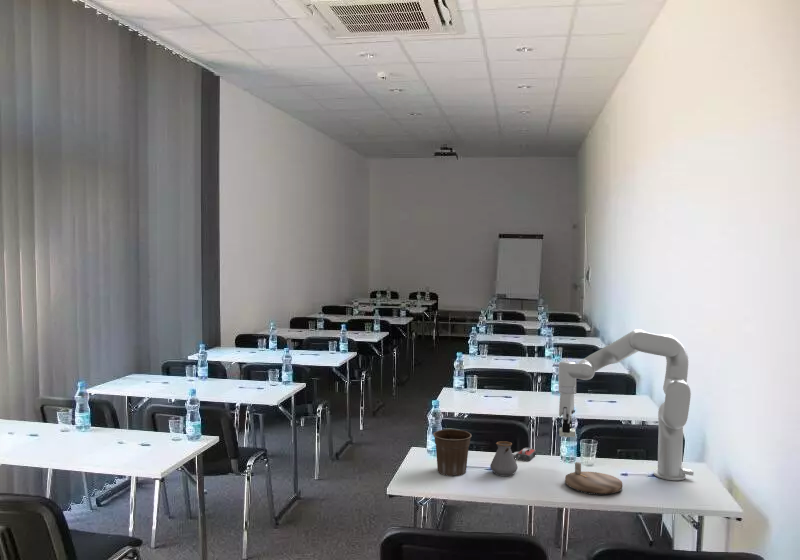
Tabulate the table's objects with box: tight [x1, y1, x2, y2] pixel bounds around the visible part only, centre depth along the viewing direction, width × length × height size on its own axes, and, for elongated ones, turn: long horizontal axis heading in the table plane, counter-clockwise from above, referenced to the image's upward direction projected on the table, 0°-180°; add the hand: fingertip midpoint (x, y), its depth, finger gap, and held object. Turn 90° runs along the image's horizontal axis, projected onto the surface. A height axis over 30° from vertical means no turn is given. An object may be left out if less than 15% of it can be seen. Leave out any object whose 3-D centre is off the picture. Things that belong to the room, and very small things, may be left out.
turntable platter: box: [564, 461, 623, 495], centre depth 262 cm, size 22×22×6 cm
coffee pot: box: [490, 440, 518, 477], centre depth 272 cm, size 21×12×15 cm, turn 176°
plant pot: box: [433, 428, 472, 477], centre depth 277 cm, size 16×16×16 cm
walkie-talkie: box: [512, 447, 537, 462], centre depth 298 cm, size 9×4×20 cm
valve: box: [558, 409, 576, 438], centre depth 287 cm, size 7×7×12 cm
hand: (567, 430), depth 287 cm, fingers closed on valve, 3 cm apart
